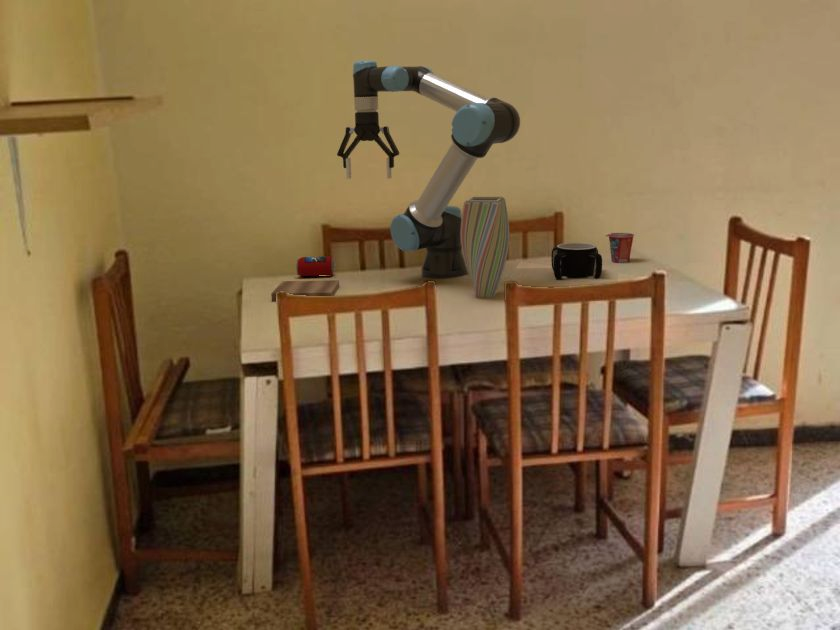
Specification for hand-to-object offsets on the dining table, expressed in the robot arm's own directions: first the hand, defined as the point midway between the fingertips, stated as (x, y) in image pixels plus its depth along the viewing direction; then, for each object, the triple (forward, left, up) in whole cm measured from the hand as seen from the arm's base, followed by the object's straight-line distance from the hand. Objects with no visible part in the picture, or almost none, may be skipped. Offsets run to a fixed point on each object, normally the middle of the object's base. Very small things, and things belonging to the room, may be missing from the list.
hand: (369, 178), depth 290 cm
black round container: (-67, +2, -33) cm, 75 cm away
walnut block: (+13, +28, -33) cm, 45 cm away
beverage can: (+14, 0, -29) cm, 32 cm away
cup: (-80, -21, -33) cm, 89 cm away
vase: (-43, +32, -33) cm, 63 cm away
